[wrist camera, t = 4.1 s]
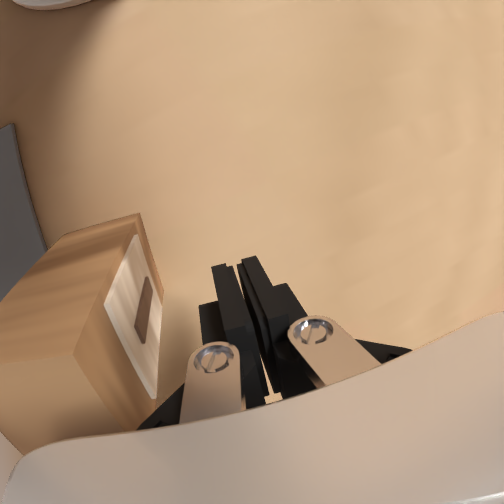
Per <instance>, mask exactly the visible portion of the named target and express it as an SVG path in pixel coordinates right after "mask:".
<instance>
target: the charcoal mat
mask: <svg viewBox="0 0 504 504" xmlns="http://www.w3.org/2000/svg"><path fill="white" fill-rule="evenodd" d="M47 251H48V250H47V247H46V244H45V241H44V239H43V236H42V233H41V230H40V227H39V224H38V221H37V218H36V215H35V211H34V208H33V205H32V201H31V198H30V194H29V191H28V187H27V183H26V179H25V175H24V171H23V167H22V163H21V158H20V154H19V149H18V144H17V139H16V134H15V128H14V124H9V125H7V126H5V127H3V128H1V129H0V302H1V301H2V300H3V298H4V297H5V296H6V295H7V294H8V293H9V291H10V290H11V289H12V288H13V287H14V286H15V285H16V284H17V282H18V281H19V280H20V279H21V278H22V277H23V276H24V275H25V274H26V273H27V272H28V270H29V269H30V268H31V267H32V266H33V265H34V264H35V263H36V262H37V261H38V260H39V259H40V258H41V257H42V256H43V255H44V254H45V253H46V252H47Z"/></svg>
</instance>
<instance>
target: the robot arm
mask: <svg viewBox="0 0 504 504" xmlns="http://www.w3.org/2000/svg"><path fill="white" fill-rule="evenodd" d="M12 1H14V2H15V3H17V4H18V5H21V6H23V7H26V8H28V9H36V10H53V9H61V8H66V7H71V6H75V5H79V4H82V3H85V2H88V1H91V0H12ZM241 261H242V263H240V264H237V269H238V273H239V278H240V282H241V287H242V291H243V295H244V298H243V295H242V292H241V289H240V286H239V283H238V281H237V278H236V275H235V272H234V269H233V266H229V267H227V266H226V263H224V264H220V265H217V266H213V267H211V268H212V273H213V278H214V283H215V288H216V293H217V298H218V301H214V302H210V303H206V304H202V305H199V314H200V324H201V333H202V341H203V346H201V347H199V348H198V349H196V350H195V351H194V352H193V353H192V355H191V356H190V358H189V361H188V365H187V372H186V379H185V383H184V384H183V385H182V386H181V387H180V388H179V389H178V390H177V391H176V392H174V393H173V394H172V395H171V396H170V397H169V398H168V399H167V400H166V401H165V402H164V403H163V404H162V405H161V406H160V407H159V408H158V409H157V410H155V411H154V412H153V413H152V414H151V415H150V416H149V417H148V418H147V419H146V420H145V421H144V422H143V423H142V424H141V425H140V426H139V427H138V428H137V430H136V431H128V432H119V433H112V434H104V435H95V436H85V437H77V438H71V439H65V440H61V441H57V442H53V443H49V444H47V445H44V446H42V447H39V448H37V449H35V450H33V451H31V452H29V453H28V454H26V455H25V456H23V457H22V458H21V459H20V460H19V461H18V463H17V464H16V466H15V467H14V469H13V471H12V473H11V475H10V478H9V480H8V483H7V486H6V489H5V493H4V496H3V500H2V504H504V311H503V312H497V313H494V314H491V315H487V316H484V317H482V318H479V319H477V320H474V321H472V322H470V323H468V324H466V325H464V326H462V327H460V328H458V329H456V330H454V331H452V332H450V333H448V334H446V335H443V336H441V337H439V338H437V339H436V340H434V341H432V342H429V343H427V344H425V345H423V346H421V347H419V348H417V349H415V350H411V349H407V348H403V347H397V346H391V345H385V344H379V343H374V342H368V341H363V340H357V339H354V338H353V337H351V336H350V335H349V334H348V333H347V332H346V331H345V330H344V329H343V328H342V327H341V326H339V325H338V324H337V323H336V322H335V321H334V320H332V319H331V318H328V317H325V316H317V315H315V316H308V315H307V314H306V312H305V311H304V309H303V308H302V306H301V304H300V303H299V301H298V300H297V298H296V297H295V295H294V294H293V292H292V291H291V289H290V287H289V286H288V284H287V283H283V284H280V285H276V286H273V285H272V284H271V282H270V280H269V278H268V276H267V275H266V273H265V271H264V269H263V267H262V266H261V264H260V262H259V260H258V258H257V257H256V256H252V257H248V258H244V259H241ZM260 355H261V357H260ZM261 358H262V361H263V363H264V366H265V369H266V372H267V375H268V378H269V380H270V383H271V386H272V389H273V391H274V394H275V393H279V392H280V393H281V395H282V398H283V400H279V401H276V402H272V403H269V404H266V402H265V399H264V397H265V396H268V395H269V391H268V386H267V382H266V378H265V374H264V369H263V365H262V361H261Z"/></svg>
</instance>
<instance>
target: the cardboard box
mask: <svg viewBox="0 0 504 504" xmlns="http://www.w3.org/2000/svg"><path fill="white" fill-rule="evenodd" d="M163 293H164V290H163V287H162V284H161V281H160V278H159V275H158V272H157V269H156V265H155V262H154V259H153V256H152V253H151V249H150V246H149V243H148V240H147V236H146V233H145V229H144V226H143V222H142V219H141V215H140V213H137V214H133V215H130V216H126V217H122V218H119V219H115V220H112V221H108V222H105V223H101V224H98V225H94V226H91V227H88V228H84V229H81V230H78V231H74V232H71V233H68V234H65V235H63V236H62V237H61V238H60V239H59V240H58V241H57V242H56V243H55V244H54V245H53V246H52V247H51V248H50V249H49V250H48V251H47V252H46V253H45V254H44V255H43V256H42V257H41V258H40V259H39V260H38V261H37V262H36V263H35V264H34V265H33V266H32V267H31V268H30V269H29V270H28V272H27V273H26V274H25V275H24V276H23V277H22V278H21V279H20V280H19V281H18V282H17V284H16V285H15V286H14V287H13V288H12V289H11V290H10V291H9V293H8V294H7V295H6V296H5V297H4V298H3V300H2V301H1V302H0V432H1V433H2V434H3V435H4V436H5V437H6V438H7V439H8V440H9V441H10V442H11V443H12V444H13V445H14V446H15V447H16V448H17V449H18V450H19V451H20V452H21V453H22V454H23V455H24V456H25V455H26V454H28V453H29V452H31V451H33V450H35V449H37V448H39V447H42V446H44V445H47V444H49V443H53V442H57V441H61V440H65V439H71V438H77V437H85V436H95V435H104V434H112V433H119V432H128V431H136V430H137V428H138V427H139V426H140V425H141V424H142V423H143V422H144V421H145V420H146V419H147V418H148V417H149V416H150V415H151V414H152V413H153V412H154V411H155V410H156V399H157V380H158V361H159V345H160V331H161V319H162V302H163Z"/></svg>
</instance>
